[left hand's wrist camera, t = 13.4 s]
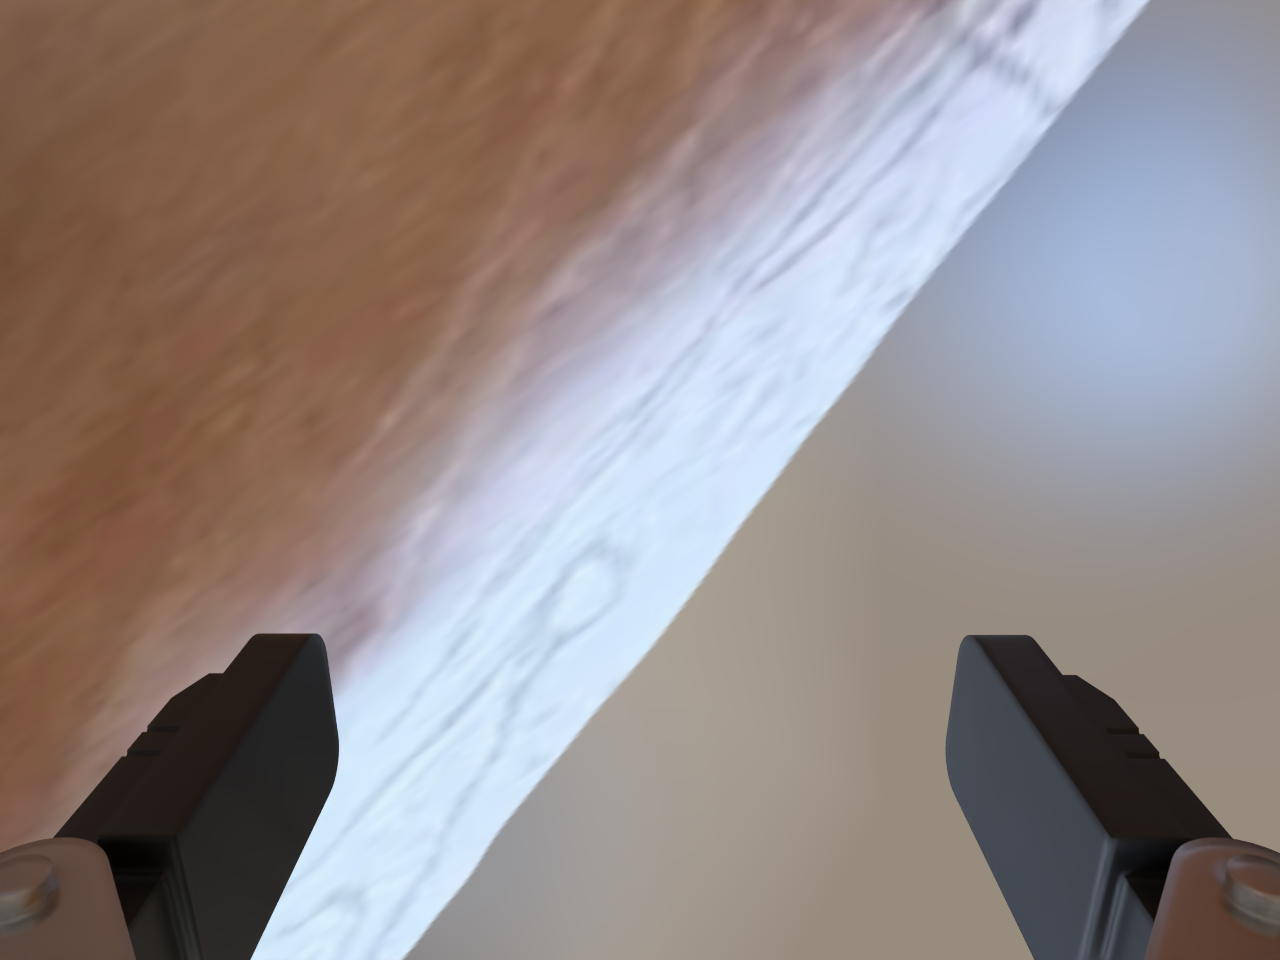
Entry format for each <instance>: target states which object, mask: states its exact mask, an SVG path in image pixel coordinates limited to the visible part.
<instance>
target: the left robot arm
mask: <svg viewBox="0 0 1280 960" xmlns="http://www.w3.org/2000/svg"><path fill="white" fill-rule="evenodd" d="M147 727H148V729H147V732H142V733H141V735H140V736H139V737H138V738H137V739H136V741H135V742H134V743H133V744H132V745H131V746H130V748H129V749H128V750H127V756H126V757H121V758H120V759H119V761H118V762H117V763H116V764H115V765H114V767H113V768H112V769H111V770H110V771H109V772H108V774H107V775H106V776H105V777H104V778H103V780H102V781H101V782H100V783H99V784H98V785H97V787H96V788H95V789H94V790H93V791H92V793H91V794H90V795H89V796H88V797H87V798H86V800H85V801H84V802H83V803H82V804H81V806H80V807H79V808H78V809H77V810H76V811H75V813H74V814H73V815H72V816H71V817H70V819H69V820H68V821H67V822H66V823H65V824H64V826H63V827H62V828H61V829H60V830H59V832H58V833H57V834H56V835H55V836H54V837H53V838H51V839H44V840H39V841H35V842H30V843H26V844H23V845H20V846H17V847H14V848H11V849H9V850H7V851H4V852H2V853H0V960H250V959H251V957H252V955H253V953H254V951H255V949H256V947H257V945H258V943H259V940H260V938H261V936H262V934H263V932H264V930H265V928H266V926H267V924H268V922H269V920H270V917H271V915H272V913H273V911H274V909H275V907H276V905H277V903H278V901H279V899H280V897H281V894H282V892H283V890H284V888H285V886H286V884H287V882H288V880H289V878H290V876H291V874H292V871H293V869H294V867H295V865H296V863H297V861H298V859H299V857H300V855H301V853H302V850H303V848H304V846H305V844H306V842H307V840H308V838H309V836H310V834H311V832H312V830H313V827H314V825H315V823H316V821H317V819H318V817H319V815H320V813H321V811H322V809H323V807H324V804H325V802H326V800H327V798H328V796H329V794H330V792H331V789H332V787H333V784H334V781H335V777H336V772H337V766H338V757H339V739H338V730H337V723H336V716H335V709H334V702H333V694H332V687H331V680H330V673H329V666H328V659H327V652H326V647H325V644H324V641H323V639H322V637H321V636H320V635H319V634H256V635H254V636H253V637H252V638H251V639H250V640H249V641H248V642H247V644H246V645H245V646H244V648H243V649H242V650H241V651H240V653H239V654H238V655H237V656H236V658H235V659H234V660H233V662H232V663H231V664H230V665H229V667H228V668H227V669H226V670H225V672H224V673H209V674H208V675H206V676H205V677H203V678H201V679H200V680H198V681H197V682H195V683H194V684H192V685H191V686H189V687H188V688H186V689H184V690H183V691H181V692H180V693H178V694H177V695H175V696H174V697H172V698H171V699H170V700H169V702H168V703H167V704H166V705H165V706H164V707H163V709H162V710H161V711H160V712H159V713H158V715H157V716H156V717H155V718H154V719H153V720H152V722H151V723H150V724H149V725H148V726H147ZM946 763H947V770H948V776H949V780H950V784H951V787H952V790H953V792H954V794H955V796H956V798H957V801H958V803H959V805H960V807H961V809H962V811H963V813H964V815H965V817H966V819H967V821H968V823H969V825H970V827H971V830H972V832H973V834H974V836H975V838H976V840H977V842H978V844H979V846H980V848H981V850H982V852H983V854H984V856H985V858H986V861H987V863H988V865H989V867H990V869H991V871H992V873H993V875H994V877H995V879H996V881H997V883H998V885H999V887H1000V889H1001V891H1002V894H1003V896H1004V898H1005V900H1006V902H1007V904H1008V906H1009V908H1010V910H1011V912H1012V914H1013V916H1014V918H1015V920H1016V922H1017V925H1018V926H1019V929H1020V931H1021V933H1022V935H1023V937H1024V939H1025V941H1026V943H1027V945H1028V947H1029V949H1030V951H1031V954H1032V956H1033V958H1034V960H1280V853H1278V852H1276V851H1273V850H1271V849H1269V848H1266V847H1262V846H1260V845H1257V844H1254V843H1250V842H1245V841H1241V840H1236V839H1233V838H1232V837H1231V836H1230V835H1229V834H1228V832H1227V831H1226V830H1225V829H1224V828H1223V827H1222V825H1221V824H1220V823H1219V822H1218V821H1217V820H1216V818H1215V817H1214V816H1213V815H1212V814H1211V813H1210V811H1209V810H1208V809H1207V808H1206V807H1205V805H1204V804H1203V803H1202V802H1201V801H1200V800H1199V798H1198V797H1197V796H1196V795H1195V794H1194V793H1193V791H1192V790H1191V789H1190V788H1189V787H1188V786H1187V784H1186V783H1185V782H1184V781H1183V780H1182V779H1181V777H1180V776H1179V775H1178V774H1177V773H1176V771H1175V770H1174V769H1173V768H1172V767H1171V766H1170V764H1169V763H1168V762H1167V761H1166V760H1165V759H1160V757H1159V752H1158V750H1157V749H1156V748H1155V747H1154V746H1153V745H1152V743H1151V742H1150V741H1149V740H1148V739H1147V738H1146V736H1145V735H1144V734H1139V728H1138V727H1137V726H1136V725H1135V724H1134V722H1133V721H1132V720H1131V719H1130V718H1129V717H1128V715H1127V714H1126V713H1125V712H1124V711H1123V709H1122V708H1121V707H1120V706H1119V705H1118V704H1117V702H1116V701H1115V700H1114V699H1112V698H1111V697H1109V696H1108V695H1106V694H1105V693H1103V692H1102V691H1100V690H1098V689H1097V688H1095V687H1094V686H1092V685H1091V684H1089V683H1088V682H1086V681H1085V680H1083V679H1081V678H1080V677H1078V676H1077V675H1062V674H1061V672H1060V671H1059V670H1058V669H1057V668H1056V666H1055V665H1054V664H1053V662H1052V661H1051V660H1050V659H1049V657H1048V656H1047V655H1046V654H1045V652H1044V651H1043V650H1042V649H1041V647H1040V646H1039V645H1038V644H1037V642H1036V641H1035V640H1034V639H1033V638H1032V637H1030V636H1028V635H968V636H966V637H964V639H963V640H962V642H961V645H960V648H959V652H958V659H957V666H956V673H955V680H954V687H953V694H952V701H951V708H950V715H949V722H948V729H947V737H946Z"/></svg>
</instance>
